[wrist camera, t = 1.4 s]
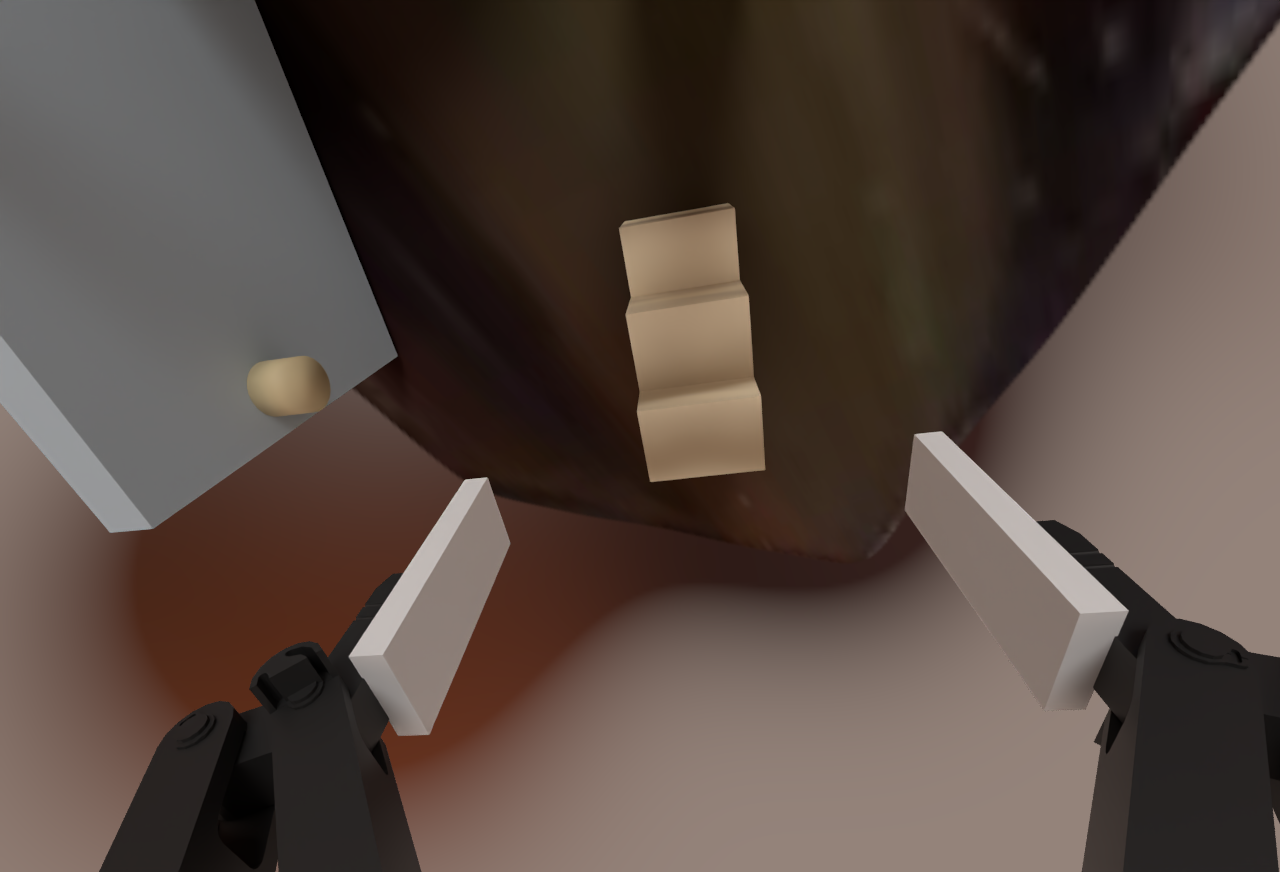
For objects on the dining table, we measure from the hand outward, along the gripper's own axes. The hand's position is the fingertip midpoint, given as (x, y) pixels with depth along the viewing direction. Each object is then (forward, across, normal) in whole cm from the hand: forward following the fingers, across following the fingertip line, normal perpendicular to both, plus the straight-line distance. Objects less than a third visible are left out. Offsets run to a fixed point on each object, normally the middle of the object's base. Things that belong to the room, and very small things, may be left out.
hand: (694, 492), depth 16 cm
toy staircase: (+13, 0, +2) cm, 13 cm away
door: (+13, -16, +10) cm, 23 cm away
